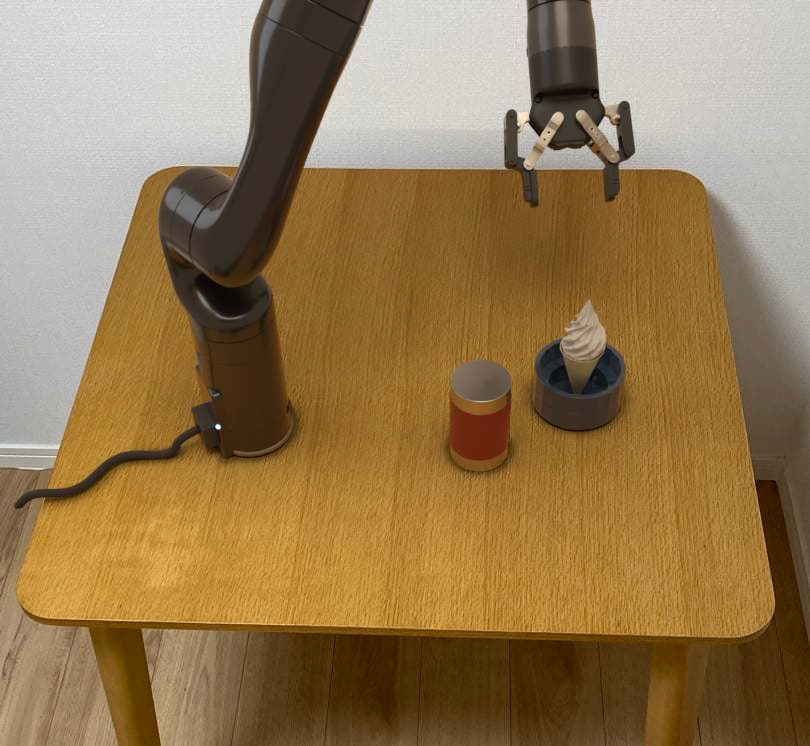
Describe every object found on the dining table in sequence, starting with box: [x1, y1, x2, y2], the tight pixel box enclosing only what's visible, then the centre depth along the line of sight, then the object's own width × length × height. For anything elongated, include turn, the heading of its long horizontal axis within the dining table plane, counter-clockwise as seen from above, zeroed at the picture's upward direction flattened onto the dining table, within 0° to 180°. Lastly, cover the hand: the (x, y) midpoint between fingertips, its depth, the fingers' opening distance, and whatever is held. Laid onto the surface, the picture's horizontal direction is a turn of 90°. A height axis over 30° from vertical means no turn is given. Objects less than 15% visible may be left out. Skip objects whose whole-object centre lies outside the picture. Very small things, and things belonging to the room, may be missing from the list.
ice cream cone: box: [560, 298, 607, 395], centre depth 134 cm, size 5×5×15 cm
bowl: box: [531, 337, 627, 431], centre depth 138 cm, size 10×10×6 cm
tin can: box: [449, 359, 513, 473], centre depth 131 cm, size 7×7×11 cm
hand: (572, 203), depth 132 cm, fingers open, 8 cm apart
